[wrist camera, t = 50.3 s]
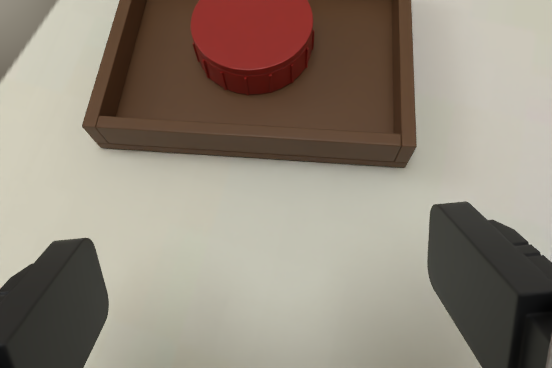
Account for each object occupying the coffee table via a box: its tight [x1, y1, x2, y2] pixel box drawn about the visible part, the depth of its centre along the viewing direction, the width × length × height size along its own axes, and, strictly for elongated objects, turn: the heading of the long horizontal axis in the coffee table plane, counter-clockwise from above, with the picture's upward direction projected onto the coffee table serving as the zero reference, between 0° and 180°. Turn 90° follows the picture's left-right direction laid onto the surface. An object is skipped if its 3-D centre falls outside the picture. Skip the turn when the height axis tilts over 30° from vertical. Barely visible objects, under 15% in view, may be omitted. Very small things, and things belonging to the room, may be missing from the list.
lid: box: [190, 0, 314, 95], centre depth 21 cm, size 6×6×2 cm
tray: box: [82, 0, 416, 167], centre depth 21 cm, size 14×10×2 cm
